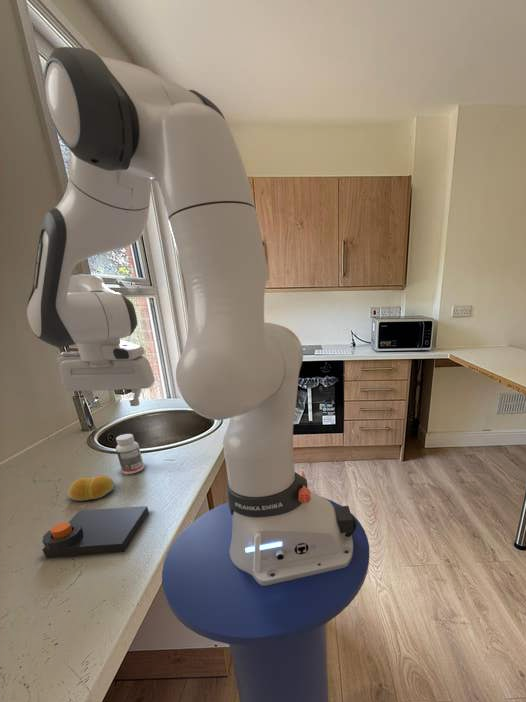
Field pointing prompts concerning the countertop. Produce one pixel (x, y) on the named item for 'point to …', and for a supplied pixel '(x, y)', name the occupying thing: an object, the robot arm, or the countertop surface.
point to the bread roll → (90, 488)
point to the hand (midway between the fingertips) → (115, 406)
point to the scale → (97, 532)
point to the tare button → (61, 530)
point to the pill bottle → (129, 454)
